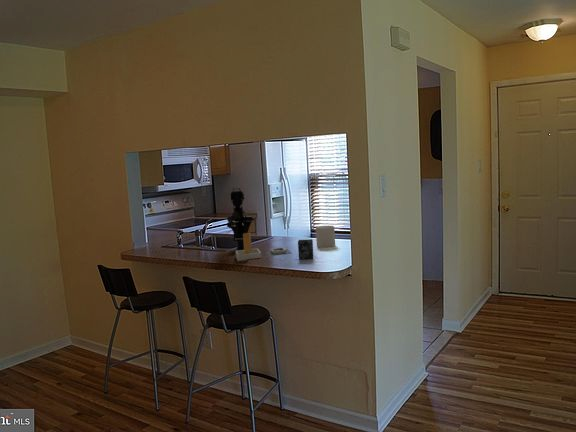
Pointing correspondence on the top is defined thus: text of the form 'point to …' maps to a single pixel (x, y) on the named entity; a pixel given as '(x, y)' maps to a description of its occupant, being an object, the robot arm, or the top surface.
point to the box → (305, 249)
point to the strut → (247, 243)
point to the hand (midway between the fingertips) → (241, 235)
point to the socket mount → (278, 251)
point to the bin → (247, 255)
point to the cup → (325, 236)
